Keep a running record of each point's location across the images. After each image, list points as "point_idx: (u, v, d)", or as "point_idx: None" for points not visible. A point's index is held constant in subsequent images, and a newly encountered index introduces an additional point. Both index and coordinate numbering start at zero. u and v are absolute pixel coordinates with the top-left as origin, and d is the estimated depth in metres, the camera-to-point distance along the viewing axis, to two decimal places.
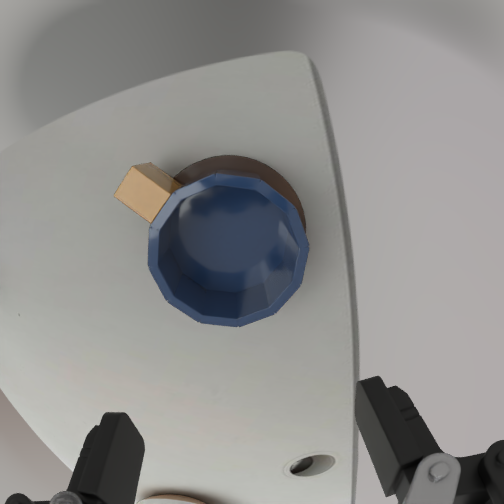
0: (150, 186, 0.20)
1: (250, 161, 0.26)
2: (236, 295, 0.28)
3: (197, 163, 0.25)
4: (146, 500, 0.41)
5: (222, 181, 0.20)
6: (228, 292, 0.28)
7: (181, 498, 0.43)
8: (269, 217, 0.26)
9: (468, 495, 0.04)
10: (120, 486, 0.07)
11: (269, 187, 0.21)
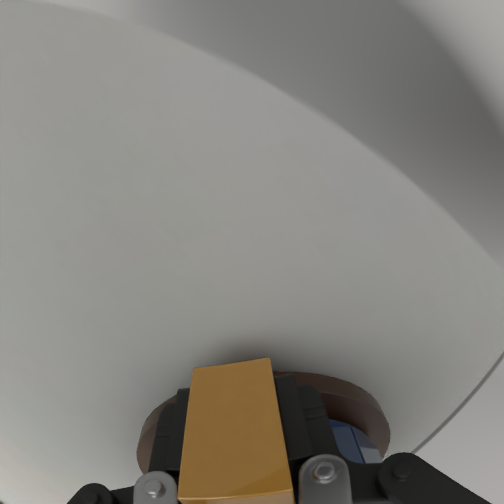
0: None
1: (383, 424, 0.13)
2: None
3: (329, 395, 0.12)
4: None
5: None
6: None
7: None
8: None
9: (361, 503, 0.05)
10: None
11: None
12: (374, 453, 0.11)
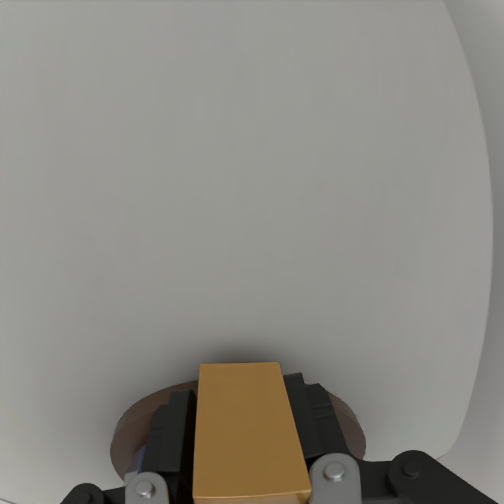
0: None
1: None
2: None
3: (361, 434, 0.13)
4: None
5: None
6: None
7: None
8: None
9: (371, 502, 0.05)
10: None
11: None
12: None
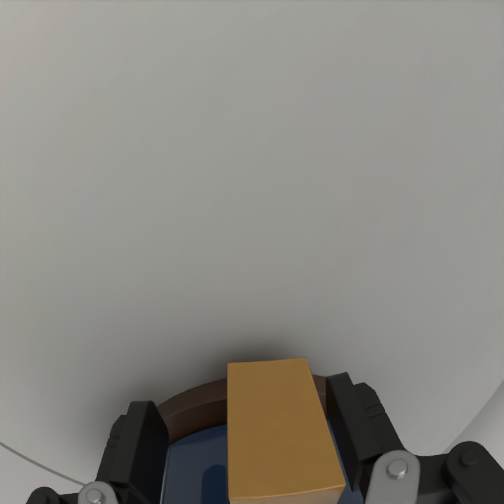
0: None
1: None
2: None
3: None
4: None
5: None
6: None
7: None
8: None
9: (430, 495, 0.05)
10: (149, 474, 0.07)
11: None
12: None
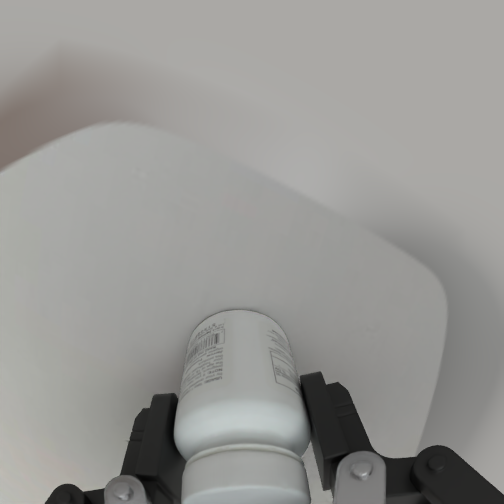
0: None
1: None
2: None
3: None
4: None
5: None
6: None
7: None
8: None
9: (397, 498, 0.05)
10: (174, 467, 0.08)
11: None
12: None
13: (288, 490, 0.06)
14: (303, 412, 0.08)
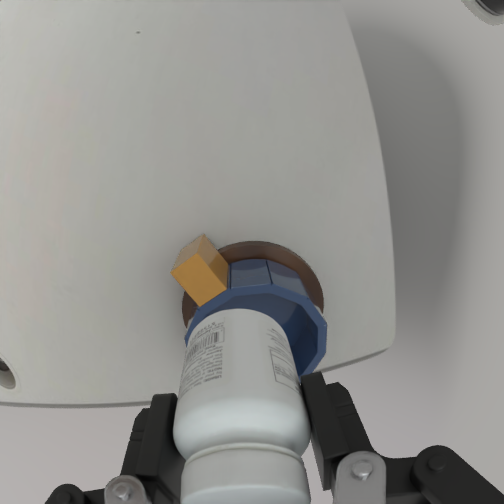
0: (209, 277, 0.22)
1: None
2: None
3: (319, 286, 0.29)
4: None
5: (275, 290, 0.23)
6: None
7: None
8: (295, 311, 0.29)
9: (397, 498, 0.05)
10: (174, 467, 0.08)
11: (312, 305, 0.23)
12: (288, 271, 0.27)
13: (288, 489, 0.05)
14: (303, 411, 0.08)
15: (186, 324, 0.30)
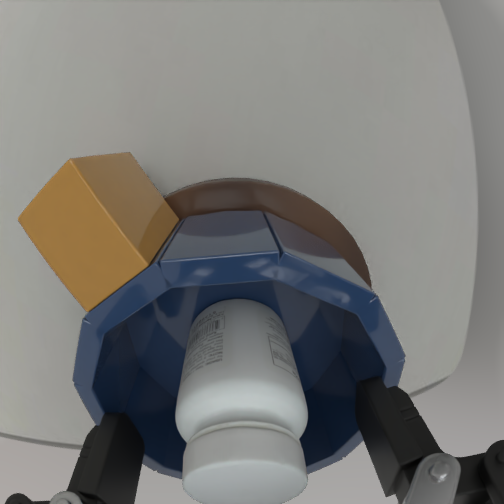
0: (100, 228, 0.07)
1: None
2: None
3: (367, 276, 0.14)
4: None
5: (291, 274, 0.08)
6: None
7: None
8: (321, 324, 0.14)
9: (468, 495, 0.04)
10: (121, 486, 0.07)
11: (383, 314, 0.08)
12: (312, 237, 0.12)
13: (285, 466, 0.06)
14: (300, 393, 0.09)
15: None
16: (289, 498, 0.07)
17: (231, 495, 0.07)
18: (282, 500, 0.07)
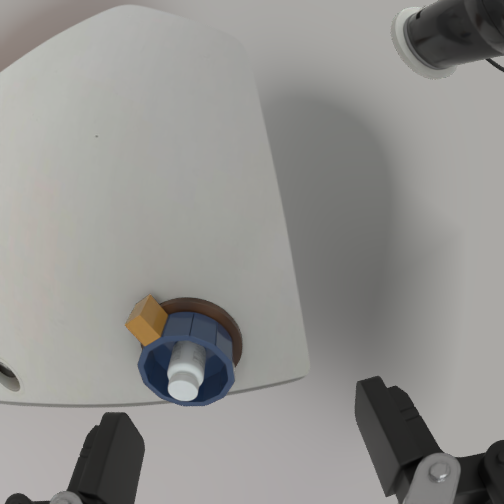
0: (148, 329, 0.32)
1: (238, 358, 0.41)
2: None
3: (237, 331, 0.39)
4: None
5: (192, 339, 0.33)
6: None
7: None
8: None
9: (468, 495, 0.04)
10: (120, 486, 0.07)
11: (219, 350, 0.33)
12: (209, 322, 0.37)
13: (189, 383, 0.31)
14: (199, 368, 0.34)
15: None
16: (194, 396, 0.32)
17: (179, 393, 0.32)
18: (193, 397, 0.32)
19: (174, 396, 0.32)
